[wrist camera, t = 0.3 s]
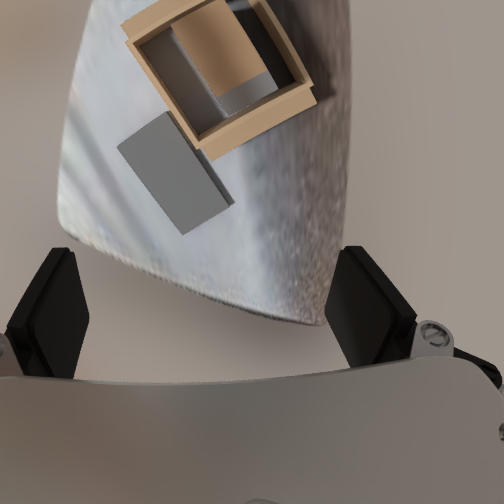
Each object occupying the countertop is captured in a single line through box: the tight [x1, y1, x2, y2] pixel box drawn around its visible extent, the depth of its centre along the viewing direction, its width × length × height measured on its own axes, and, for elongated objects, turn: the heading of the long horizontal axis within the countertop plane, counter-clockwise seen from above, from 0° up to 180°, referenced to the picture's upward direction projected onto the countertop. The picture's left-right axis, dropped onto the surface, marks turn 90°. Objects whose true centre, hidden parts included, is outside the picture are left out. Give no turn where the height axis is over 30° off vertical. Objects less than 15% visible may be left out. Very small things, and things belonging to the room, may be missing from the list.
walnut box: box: [171, 0, 278, 116], centre depth 27 cm, size 5×10×9 cm, turn 29°
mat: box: [117, 111, 229, 235], centre depth 37 cm, size 7×14×1 cm, turn 29°
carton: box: [120, 0, 317, 162], centre depth 29 cm, size 14×18×4 cm
